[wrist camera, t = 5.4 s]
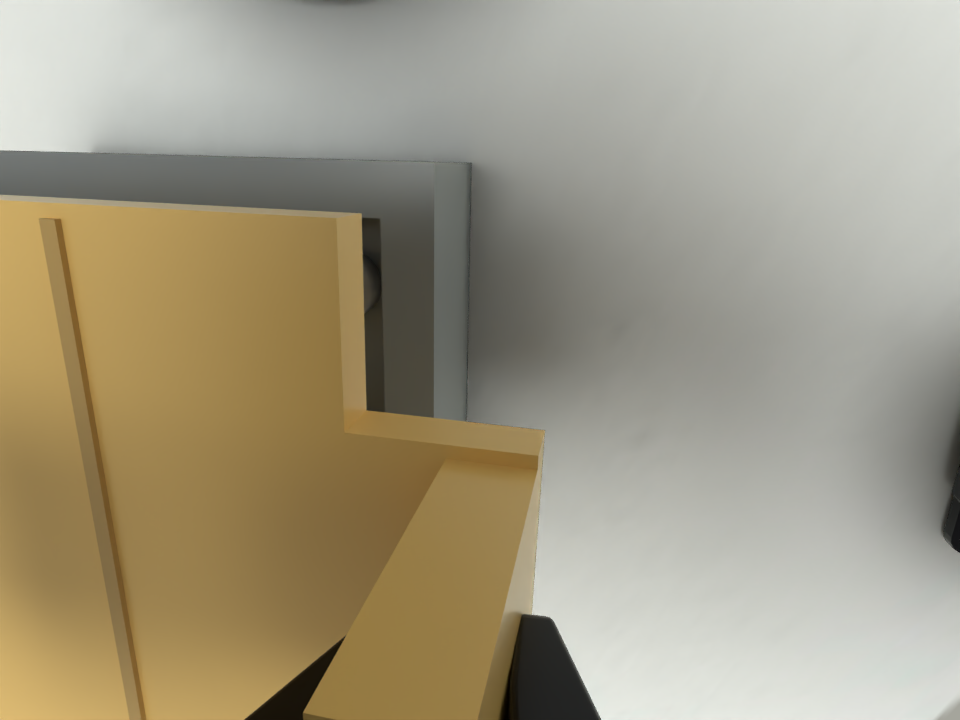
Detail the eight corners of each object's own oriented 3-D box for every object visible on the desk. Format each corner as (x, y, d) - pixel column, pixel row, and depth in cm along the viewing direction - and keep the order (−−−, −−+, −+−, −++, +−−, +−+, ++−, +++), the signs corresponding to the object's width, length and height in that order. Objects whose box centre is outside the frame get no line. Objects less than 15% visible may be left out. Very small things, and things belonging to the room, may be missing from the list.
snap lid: (565, 217, 9) (487, 305, 3) (525, 758, 12) (451, 1275, 6) (-244, 177, 11) (-1043, 186, 6) (-103, 627, 14) (-539, 911, 9)
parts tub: (471, 162, 18) (434, 162, 13) (465, 475, 21) (433, 567, 16) (90, 152, 19) (-68, 148, 14) (136, 445, 22) (19, 521, 18)
